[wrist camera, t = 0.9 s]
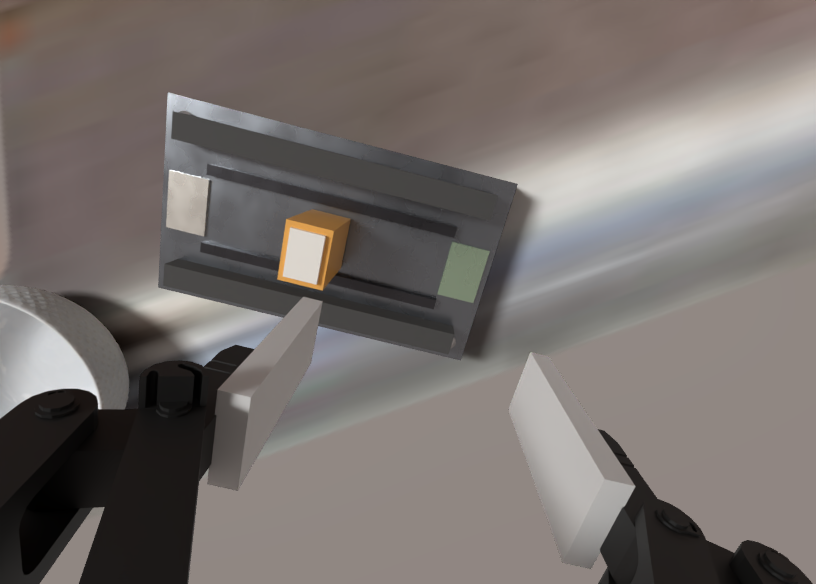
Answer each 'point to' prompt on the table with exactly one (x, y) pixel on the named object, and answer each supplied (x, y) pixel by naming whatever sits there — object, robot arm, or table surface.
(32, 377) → the cereal bowl
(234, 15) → the table surface
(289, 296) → the dark grey edge bar
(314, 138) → the grey slider base
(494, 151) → the table surface
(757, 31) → the table surface
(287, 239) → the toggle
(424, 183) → the long dark grey rail
